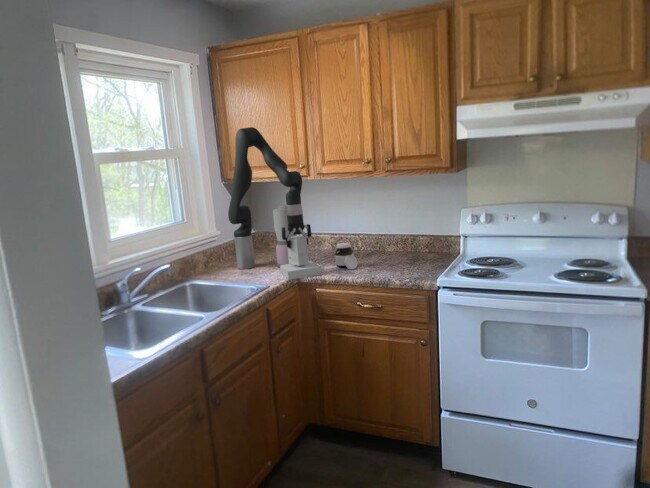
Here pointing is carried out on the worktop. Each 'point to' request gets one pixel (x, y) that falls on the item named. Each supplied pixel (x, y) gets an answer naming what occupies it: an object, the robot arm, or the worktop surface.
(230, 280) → the worktop surface
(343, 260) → the spread jar
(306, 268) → the block
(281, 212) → the blender
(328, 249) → the worktop surface
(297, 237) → the small box
